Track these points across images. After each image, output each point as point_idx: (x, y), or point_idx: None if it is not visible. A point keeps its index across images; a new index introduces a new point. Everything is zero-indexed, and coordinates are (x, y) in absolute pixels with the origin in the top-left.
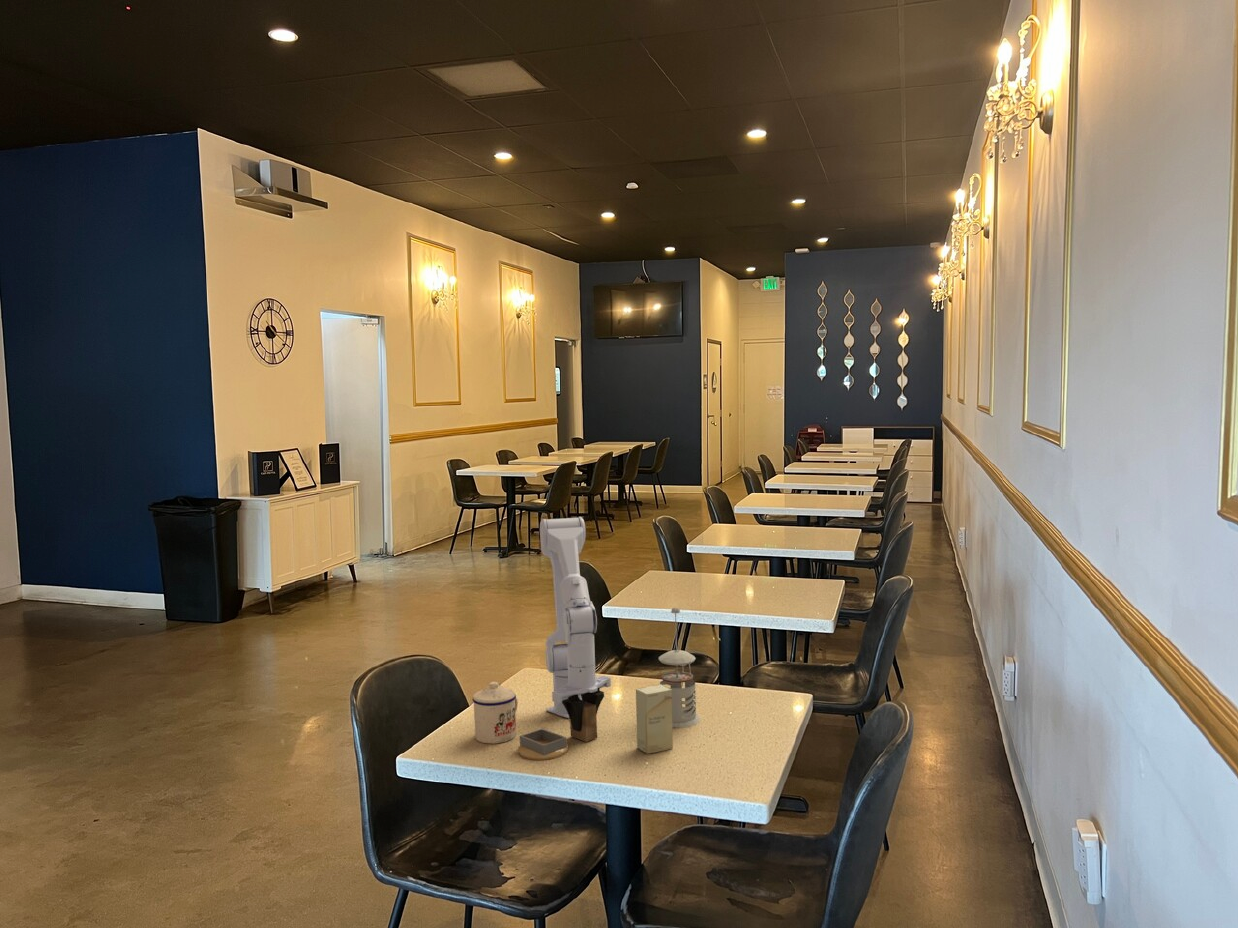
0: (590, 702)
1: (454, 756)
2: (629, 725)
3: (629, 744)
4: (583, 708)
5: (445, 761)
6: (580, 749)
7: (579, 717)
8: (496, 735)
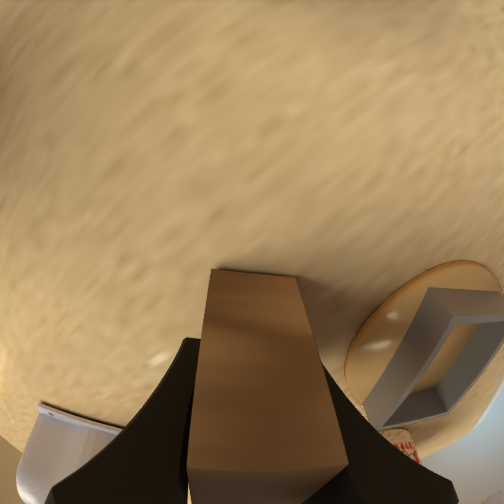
0: (182, 491)
1: (470, 411)
2: (5, 249)
3: (164, 47)
4: (338, 468)
5: (488, 401)
6: (384, 240)
7: (349, 411)
8: (411, 444)
